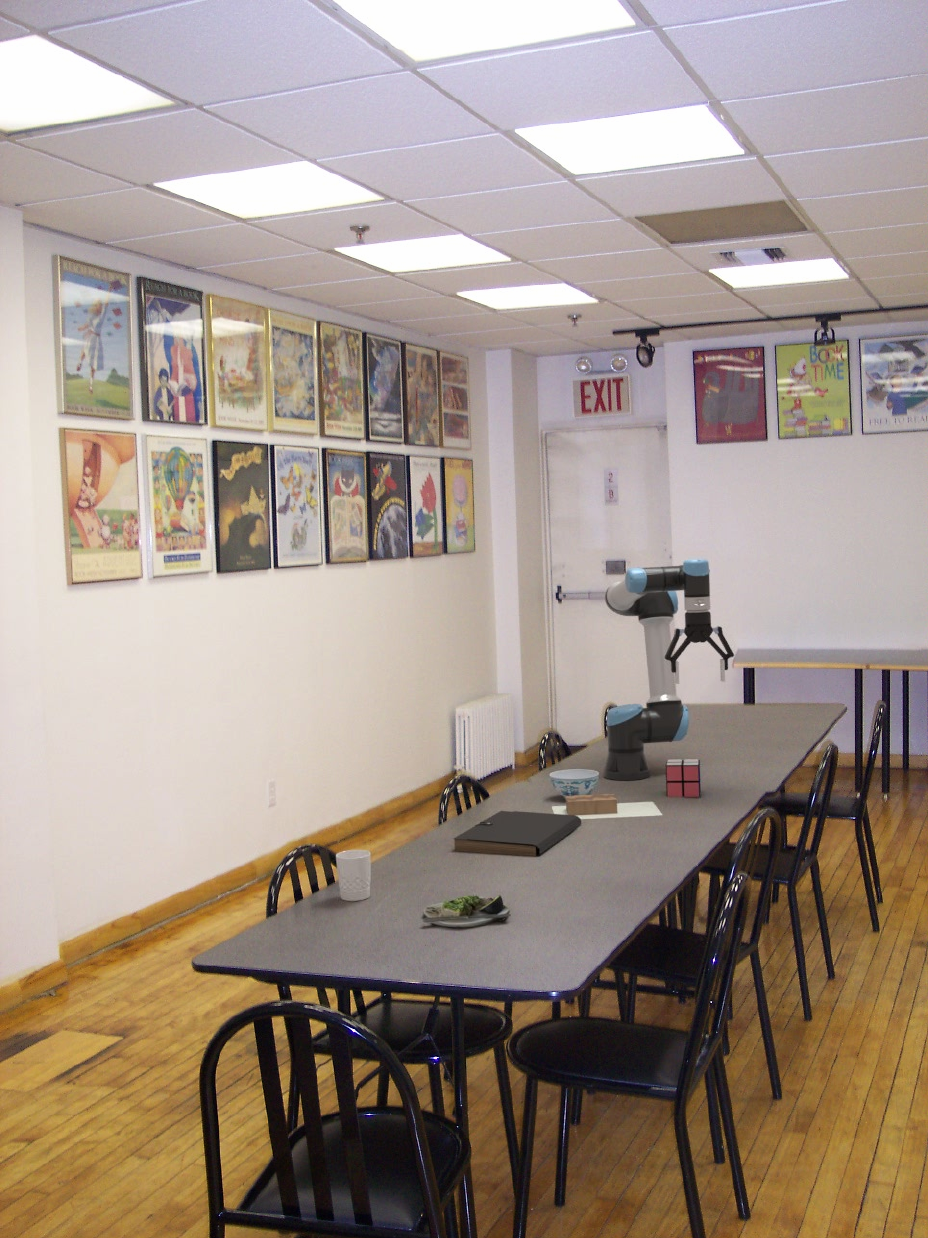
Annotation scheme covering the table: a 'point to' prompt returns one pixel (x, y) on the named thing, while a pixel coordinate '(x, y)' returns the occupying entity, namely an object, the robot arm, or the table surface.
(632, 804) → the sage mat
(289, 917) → the table surface
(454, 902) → the salad plate
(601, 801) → the walnut block
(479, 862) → the table surface
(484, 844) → the file folder
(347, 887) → the white cup
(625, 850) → the table surface
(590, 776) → the chinaware
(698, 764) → the puzzle cube
